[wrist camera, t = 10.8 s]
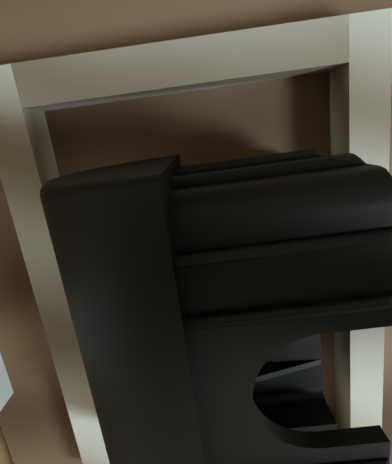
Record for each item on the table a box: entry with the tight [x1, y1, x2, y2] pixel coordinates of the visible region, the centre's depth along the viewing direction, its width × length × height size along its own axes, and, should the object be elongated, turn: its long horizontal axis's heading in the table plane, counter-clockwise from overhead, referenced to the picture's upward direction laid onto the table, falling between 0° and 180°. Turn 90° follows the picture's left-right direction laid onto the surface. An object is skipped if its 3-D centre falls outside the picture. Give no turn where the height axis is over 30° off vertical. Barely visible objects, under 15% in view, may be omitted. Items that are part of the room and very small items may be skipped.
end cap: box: [40, 149, 392, 464], centre depth 10 cm, size 10×7×7 cm
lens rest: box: [0, 0, 392, 464], centre depth 13 cm, size 28×20×3 cm
